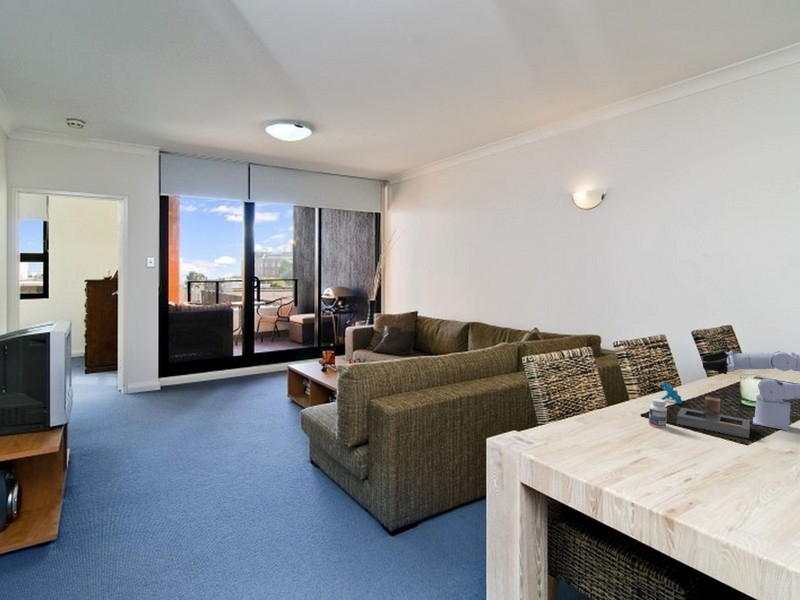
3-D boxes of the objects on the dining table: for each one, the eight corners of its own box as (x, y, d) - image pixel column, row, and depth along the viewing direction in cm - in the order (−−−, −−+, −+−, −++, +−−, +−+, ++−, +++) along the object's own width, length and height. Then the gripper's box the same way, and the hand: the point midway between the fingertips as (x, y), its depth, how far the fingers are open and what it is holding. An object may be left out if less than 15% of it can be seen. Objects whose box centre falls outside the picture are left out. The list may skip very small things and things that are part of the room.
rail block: (749, 428, 153) (749, 419, 153) (748, 438, 144) (749, 428, 144) (680, 415, 166) (681, 406, 165) (676, 424, 156) (677, 415, 156)
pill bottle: (650, 421, 158) (651, 396, 158) (667, 425, 155) (668, 400, 154) (647, 425, 154) (648, 400, 153) (664, 429, 151) (666, 403, 150)
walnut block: (719, 417, 164) (720, 398, 164) (718, 420, 161) (719, 401, 160) (704, 414, 167) (705, 396, 166) (703, 417, 164) (704, 399, 163)
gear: (679, 403, 175) (661, 381, 181) (666, 410, 179) (649, 389, 184) (688, 401, 183) (670, 380, 188) (675, 409, 186) (658, 388, 191)
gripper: (746, 344, 165) (702, 345, 173) (748, 357, 154) (701, 358, 162) (748, 362, 166) (704, 362, 174) (751, 377, 155) (703, 376, 163)
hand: (703, 361), depth 168 cm, fingers open, 7 cm apart
